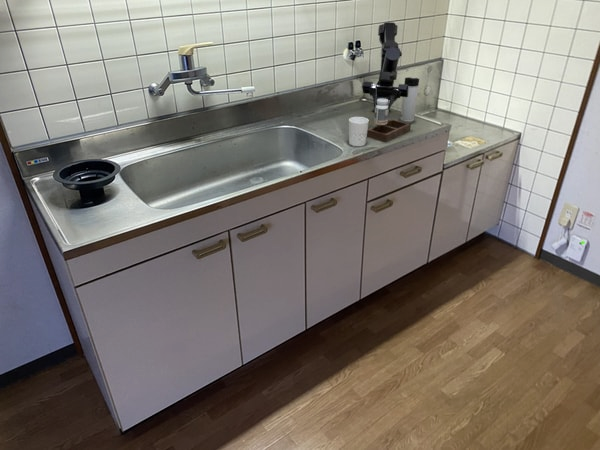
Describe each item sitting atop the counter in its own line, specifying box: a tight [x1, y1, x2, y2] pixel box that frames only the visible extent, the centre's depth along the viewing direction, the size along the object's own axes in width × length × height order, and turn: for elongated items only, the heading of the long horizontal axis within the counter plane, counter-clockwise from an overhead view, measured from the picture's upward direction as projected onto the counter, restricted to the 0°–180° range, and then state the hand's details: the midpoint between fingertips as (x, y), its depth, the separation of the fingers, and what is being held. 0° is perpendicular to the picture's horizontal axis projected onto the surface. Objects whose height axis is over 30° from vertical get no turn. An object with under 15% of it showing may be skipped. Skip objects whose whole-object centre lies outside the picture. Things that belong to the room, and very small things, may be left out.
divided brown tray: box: [366, 118, 412, 143], centre depth 199 cm, size 19×10×3 cm, turn 136°
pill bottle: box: [373, 98, 390, 125], centre depth 192 cm, size 6×6×10 cm
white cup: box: [348, 116, 370, 147], centre depth 187 cm, size 8×8×10 cm
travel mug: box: [399, 77, 420, 124], centre depth 207 cm, size 6×7×20 cm
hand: (381, 107), depth 190 cm, fingers closed on pill bottle, 5 cm apart
